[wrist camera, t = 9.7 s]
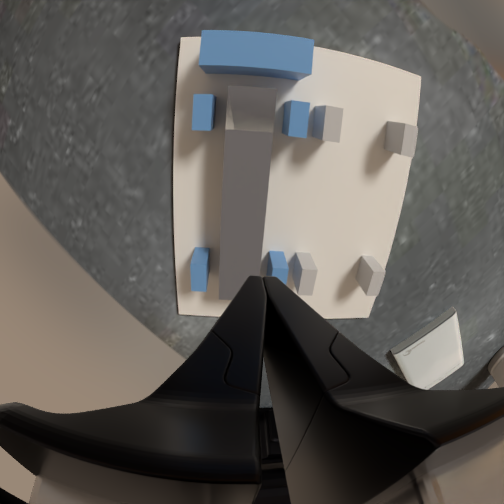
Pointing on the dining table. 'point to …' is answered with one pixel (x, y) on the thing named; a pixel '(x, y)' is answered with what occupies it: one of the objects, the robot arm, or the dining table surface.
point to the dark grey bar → (245, 184)
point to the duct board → (295, 167)
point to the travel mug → (497, 367)
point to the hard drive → (431, 351)
